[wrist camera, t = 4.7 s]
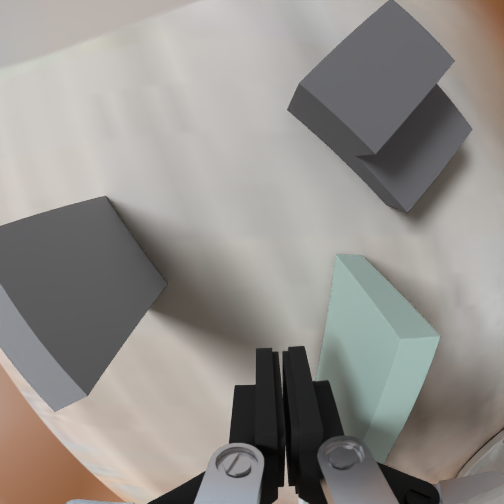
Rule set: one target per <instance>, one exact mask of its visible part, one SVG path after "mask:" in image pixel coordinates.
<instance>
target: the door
mask: <svg viewBox="0 0 504 504" xmlns="http://www.w3.org/2000/svg"><path fill="white" fill-rule="evenodd" d="M440 337H441V336H440V335H439V334H438V333H437V332H436V330H435V329H434V328H433V327H432V326H431V325H430V324H429V323H428V322H427V321H426V320H425V319H424V318H423V316H422V315H421V314H420V313H419V312H418V311H417V310H416V309H415V308H414V307H413V306H412V305H411V304H410V303H409V302H408V301H407V300H406V299H405V298H404V297H403V296H402V295H401V294H400V293H399V292H398V291H397V290H396V289H395V288H394V287H393V286H392V285H391V284H390V283H389V282H388V281H387V280H386V279H385V278H384V277H383V276H382V275H381V274H380V273H379V272H378V271H377V270H376V269H375V268H374V267H373V266H372V265H371V264H370V263H369V262H368V261H367V260H366V259H365V258H364V257H363V256H362V255H347V254H336V256H335V264H334V272H333V280H332V287H331V294H330V301H329V308H328V314H327V320H326V326H325V332H324V338H323V344H322V349H321V355H320V360H319V365H318V371H317V376H316V381H323V380H328V381H329V382H330V385H331V389H332V392H333V396H334V399H335V402H336V406H337V409H338V413H339V417H340V420H341V424H342V427H343V431H344V434H345V436H352V437H356V438H358V439H360V440H362V441H363V442H364V443H365V444H366V445H367V446H368V448H369V450H370V451H371V453H372V455H373V457H374V459H375V461H377V462H379V463H381V464H383V463H384V461H385V460H386V458H387V456H388V455H389V453H390V451H391V449H392V447H393V446H394V444H395V442H396V440H397V438H398V436H399V434H400V432H401V430H402V428H403V426H404V424H405V422H406V420H407V418H408V416H409V414H410V412H411V410H412V408H413V406H414V403H415V401H416V399H417V397H418V394H419V392H420V390H421V387H422V385H423V383H424V380H425V378H426V375H427V373H428V370H429V367H430V365H431V362H432V360H433V357H434V354H435V351H436V348H437V346H438V343H439V340H440ZM298 503H299V504H308V503H307V502H305V501H304V500H302V499H300V498H299V497H298Z"/></svg>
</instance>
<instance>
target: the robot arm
mask: <svg viewBox="0 0 504 504" xmlns="http://www.w3.org/2000/svg"><path fill="white" fill-rule="evenodd" d="M285 445H286V458H287V471H288V483H289V486H295V491H296V494H298V497H299V498H300V499H302V500H304V501H305V502H307V503H308V504H504V430H502V431H501V432H500V433H499V434H497V435H496V436H495V437H494V438H493V439H491V440H490V441H489V442H488V443H487V444H486V445H485V446H484V447H483V448H481V449H480V450H479V451H478V452H477V453H476V454H475V455H474V456H473V457H472V458H471V459H470V460H469V461H468V463H467V464H466V465H465V466H464V467H463V468H462V470H461V471H460V472H459V474H458V475H457V477H456V478H455V479H449V480H443V481H439V483H438V484H433V485H432V484H430V483H428V482H426V481H424V480H421V479H418V478H416V477H413V476H410V475H408V474H405V473H403V472H400V471H398V470H395V469H393V468H391V467H388V466H386V465H383V464H381V463H379V462H377V461H375V459H374V457H373V455H372V453H371V451H370V450H369V448H368V446H367V445H366V444H365V443H364V442H363V441H362V440H360V439H358V438H356V437H352V436H345V434H344V431H343V427H342V424H341V420H340V417H339V413H338V409H337V406H336V402H335V399H334V396H333V392H332V389H331V385H330V382H329V381H328V380H323V381H312V377H311V372H310V368H309V364H308V359H307V355H306V351H305V347H304V346H296V347H288V351H283V398H282V387H281V376H280V365H279V355H278V352H272V348H258V349H256V385H235V389H234V398H233V408H232V418H231V428H230V438H229V444H227V445H224V446H222V447H220V448H219V449H217V450H216V451H215V452H214V453H213V455H212V456H211V458H210V461H209V464H208V466H207V469H206V471H204V472H203V473H201V474H200V475H198V476H196V477H194V478H193V479H191V480H189V481H188V482H186V483H184V484H182V485H181V486H179V487H177V488H175V489H174V490H172V491H170V492H168V493H166V494H164V495H162V496H160V497H159V498H157V499H155V500H153V501H151V502H149V503H148V504H272V503H273V502H274V501H276V500H277V499H278V487H284V471H285ZM66 504H135V503H120V502H103V501H90V500H81V499H76V500H71V501H68V502H67V503H66Z"/></svg>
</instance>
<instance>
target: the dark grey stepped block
mask: <svg viewBox="0 0 504 504" xmlns="http://www.w3.org/2000/svg"><path fill="white" fill-rule="evenodd" d="M454 61H455V60H454V59H453V58H452V57H451V56H450V55H449V54H448V52H447V51H446V50H445V49H444V48H443V47H442V46H441V45H440V44H439V43H438V42H437V41H436V39H435V38H434V37H433V36H432V35H431V34H430V33H429V32H428V31H427V30H426V29H425V28H424V27H423V26H422V25H421V24H419V23H418V22H417V21H416V20H415V19H414V18H413V17H412V16H411V15H410V14H409V13H408V12H407V11H405V10H404V9H403V8H402V7H401V6H400V5H399V4H397V3H396V2H395V1H394V0H389V1H387V2H386V3H385V4H384V5H383V6H381V7H380V8H379V9H378V10H377V11H376V12H374V13H373V14H372V15H371V16H370V17H369V18H368V19H366V20H365V21H364V22H363V23H362V24H361V25H360V26H359V27H357V28H356V29H355V30H354V31H353V32H352V33H351V34H350V35H349V36H348V37H346V38H345V39H344V40H343V41H342V42H341V43H340V44H339V45H338V46H337V47H336V48H335V49H334V50H333V51H332V52H330V53H329V54H328V55H327V56H326V57H325V58H324V59H323V60H322V61H321V62H320V63H319V64H318V65H317V66H316V67H315V68H314V69H313V70H312V71H311V72H310V73H309V74H308V75H307V76H306V77H305V78H304V79H303V80H302V81H301V82H300V83H299V85H298V87H297V89H296V91H295V93H294V96H293V98H292V100H291V102H290V104H289V107H288V109H287V110H288V111H289V112H290V113H291V114H293V115H294V116H295V117H296V118H297V119H298V120H300V121H301V122H302V123H303V124H304V125H305V126H307V127H308V128H309V129H310V130H311V131H312V132H313V133H314V134H316V135H317V136H318V137H319V138H320V139H321V140H322V141H323V142H324V143H325V144H326V145H328V146H329V147H330V148H331V149H332V150H333V151H334V152H335V153H336V154H337V155H338V156H339V157H340V158H341V159H342V160H343V161H344V162H345V163H346V164H347V165H348V166H349V167H350V168H351V169H352V170H353V171H354V172H355V173H356V174H357V175H358V176H359V177H360V178H361V179H362V180H363V181H364V182H365V183H366V184H367V185H368V186H369V187H370V188H371V189H372V190H373V191H374V192H375V193H376V194H377V195H378V196H379V197H380V199H381V200H382V201H383V202H384V203H385V204H386V205H388V206H391V207H394V208H397V209H399V210H402V211H405V212H408V211H409V210H410V209H411V208H412V207H413V205H414V204H415V203H416V202H417V201H418V199H419V198H420V197H421V196H422V195H423V193H424V192H425V191H426V190H427V188H428V187H429V186H430V185H431V183H432V182H433V181H434V180H435V178H436V177H437V176H438V175H439V173H440V172H441V171H442V170H443V168H444V167H445V166H446V164H447V163H448V162H449V160H450V159H451V158H452V156H453V155H454V154H455V152H456V151H457V150H458V148H459V147H460V146H461V144H462V143H463V142H464V140H465V139H466V138H467V136H468V135H469V133H470V132H471V131H472V128H471V126H470V125H469V124H468V122H467V121H466V120H465V118H464V117H463V116H462V114H461V113H460V112H459V110H458V109H457V108H456V106H455V105H454V104H453V103H452V101H451V100H450V99H449V98H448V97H447V95H446V94H445V93H444V92H443V91H442V89H441V88H440V87H439V86H438V85H437V84H436V83H437V82H438V81H439V80H440V78H441V77H442V76H443V75H444V74H445V72H446V71H447V70H448V69H449V68H450V66H451V65H452V64H453V63H454Z"/></svg>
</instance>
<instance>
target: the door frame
mask: <svg viewBox="0 0 504 504" xmlns="http://www.w3.org/2000/svg"><path fill="white" fill-rule="evenodd" d="M166 285H167V282H166V281H165V280H164V278H163V277H162V276H161V274H160V273H159V272H158V270H157V269H156V268H155V266H154V265H153V264H152V262H151V261H150V260H149V258H148V257H147V255H146V254H145V253H144V251H143V250H142V249H141V247H140V246H139V244H138V243H137V242H136V240H135V239H134V237H133V236H132V235H131V233H130V232H129V230H128V229H127V227H126V226H125V225H124V223H123V222H122V220H121V219H120V217H119V216H118V214H117V213H116V211H115V210H114V208H113V207H112V205H111V204H110V202H109V201H108V199H107V198H106V196H103V197H98V198H94V199H91V200H87V201H83V202H79V203H75V204H72V205H68V206H64V207H61V208H57V209H54V210H50V211H47V212H43V213H40V214H37V215H33V216H30V217H27V218H24V219H21V220H17V221H14V222H11V223H8V224H5V225H2V226H0V348H1V349H2V350H3V352H4V353H5V354H6V356H7V357H8V358H9V360H10V361H11V362H12V364H13V365H14V366H15V367H16V369H17V370H18V371H19V372H20V374H21V375H22V376H23V377H24V378H25V380H26V381H27V382H28V383H29V384H30V385H31V387H32V388H33V389H34V390H35V391H36V392H37V393H38V395H39V396H40V397H41V398H42V399H43V400H44V401H45V402H46V403H47V404H48V405H49V406H50V407H51V408H52V409H53V410H54V412H56V411H58V410H60V409H62V408H64V407H66V406H68V405H70V404H72V403H74V402H76V401H78V400H80V399H82V398H84V397H87V396H88V395H89V393H90V392H91V390H92V389H93V387H94V386H95V384H96V383H97V381H98V380H99V378H100V377H101V375H102V374H103V373H104V371H105V370H106V368H107V367H108V365H109V364H110V362H111V361H112V360H113V358H114V357H115V355H116V354H117V352H118V351H119V350H120V348H121V347H122V345H123V344H124V343H125V341H126V340H127V338H128V337H129V336H130V334H131V333H132V331H133V330H134V329H135V327H136V326H137V324H138V323H139V322H140V320H141V319H142V318H143V316H144V315H145V313H146V312H147V311H148V309H149V308H150V307H151V305H152V304H153V303H154V301H155V300H156V299H157V297H158V296H159V295H160V293H161V292H162V290H163V289H164V288H165V287H166Z"/></svg>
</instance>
